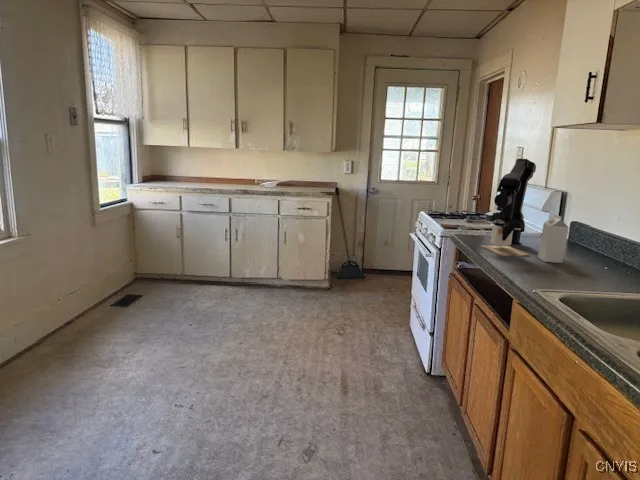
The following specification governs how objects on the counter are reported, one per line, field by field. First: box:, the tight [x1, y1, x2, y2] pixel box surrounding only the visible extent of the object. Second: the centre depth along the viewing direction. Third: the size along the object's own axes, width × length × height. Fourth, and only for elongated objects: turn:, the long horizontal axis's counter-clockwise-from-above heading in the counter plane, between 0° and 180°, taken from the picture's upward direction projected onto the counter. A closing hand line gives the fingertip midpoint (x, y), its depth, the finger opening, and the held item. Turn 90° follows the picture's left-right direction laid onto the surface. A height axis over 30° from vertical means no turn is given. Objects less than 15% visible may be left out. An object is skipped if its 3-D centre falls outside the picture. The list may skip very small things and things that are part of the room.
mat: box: [480, 244, 531, 257], centre depth 193 cm, size 14×16×1 cm
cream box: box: [489, 225, 513, 246], centre depth 195 cm, size 8×4×8 cm, turn 98°
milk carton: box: [537, 213, 570, 264], centre depth 179 cm, size 7×7×19 cm
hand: (501, 239), depth 196 cm, fingers closed on cream box, 3 cm apart
